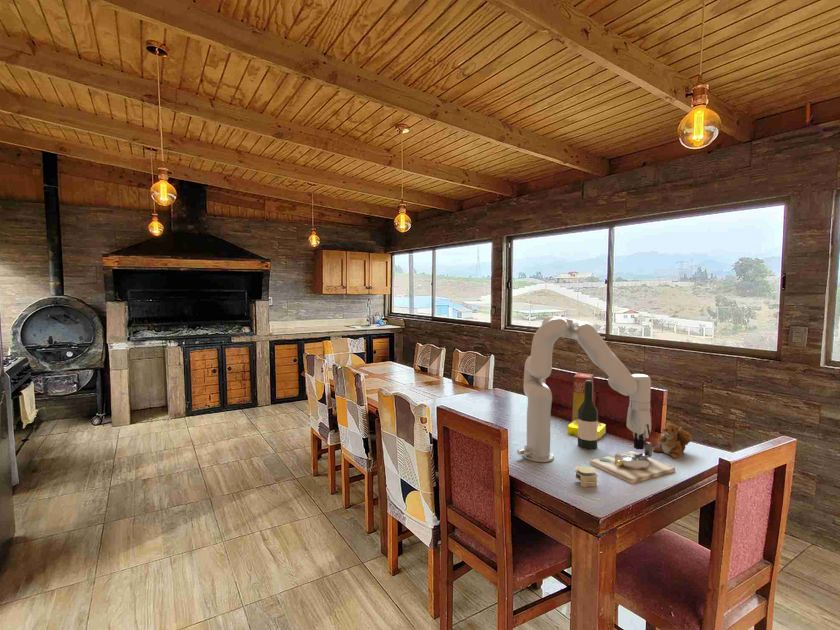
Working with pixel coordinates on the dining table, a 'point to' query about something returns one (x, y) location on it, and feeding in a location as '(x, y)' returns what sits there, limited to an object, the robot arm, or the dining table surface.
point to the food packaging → (579, 392)
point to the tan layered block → (586, 476)
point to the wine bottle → (588, 420)
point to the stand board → (632, 474)
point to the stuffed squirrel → (673, 440)
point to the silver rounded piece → (635, 458)
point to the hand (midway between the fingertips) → (638, 448)
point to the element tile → (574, 429)
